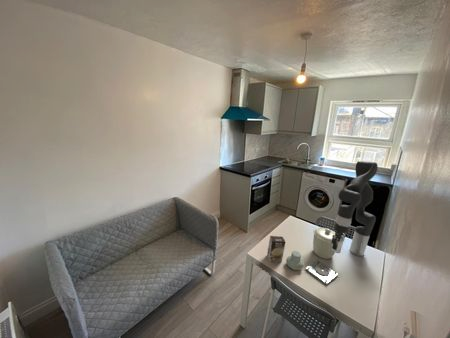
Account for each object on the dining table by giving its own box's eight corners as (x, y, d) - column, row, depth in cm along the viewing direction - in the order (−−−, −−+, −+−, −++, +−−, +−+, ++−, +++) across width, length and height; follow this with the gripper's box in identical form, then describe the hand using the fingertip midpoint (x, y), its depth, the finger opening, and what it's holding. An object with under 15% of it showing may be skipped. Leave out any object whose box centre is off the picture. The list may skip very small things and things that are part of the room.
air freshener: (298, 261, 133) (300, 249, 131) (304, 270, 125) (307, 257, 123) (283, 262, 131) (285, 249, 129) (289, 271, 124) (291, 258, 121)
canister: (329, 247, 151) (335, 223, 145) (340, 264, 133) (347, 238, 128) (306, 244, 152) (311, 221, 147) (314, 260, 135) (320, 234, 129)
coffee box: (269, 261, 131) (272, 241, 127) (266, 255, 137) (269, 235, 133) (282, 262, 132) (285, 241, 127) (279, 255, 138) (282, 236, 134)
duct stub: (333, 246, 120) (336, 233, 118) (342, 251, 116) (346, 238, 114) (328, 249, 117) (332, 236, 115) (338, 254, 113) (341, 241, 110)
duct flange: (317, 262, 134) (317, 259, 133) (337, 275, 123) (338, 272, 122) (305, 269, 126) (306, 267, 125) (326, 285, 115) (327, 282, 114)
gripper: (341, 217, 119) (335, 240, 123) (330, 222, 110) (324, 248, 115) (354, 222, 113) (348, 247, 117) (344, 229, 105) (337, 255, 109)
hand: (336, 247), depth 116 cm, fingers closed on duct stub, 5 cm apart
